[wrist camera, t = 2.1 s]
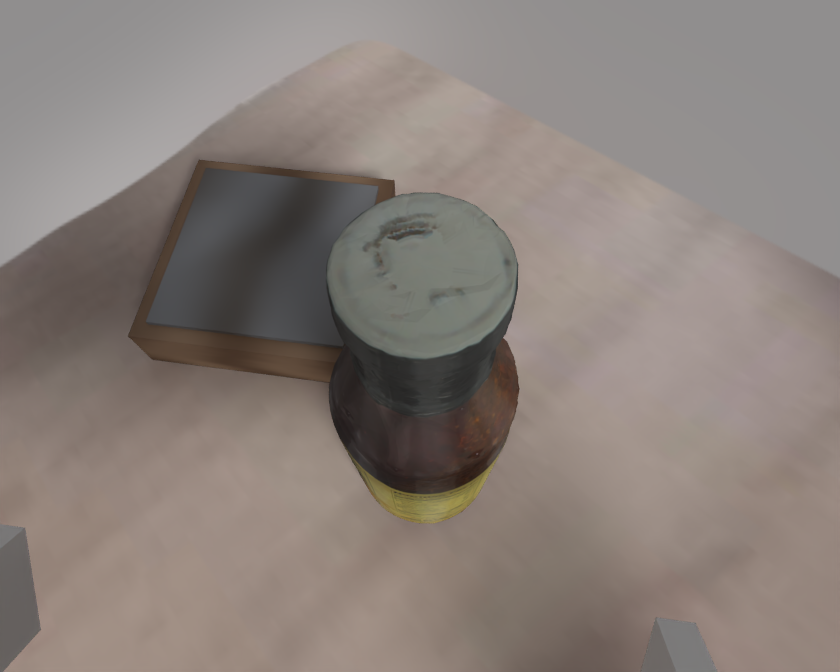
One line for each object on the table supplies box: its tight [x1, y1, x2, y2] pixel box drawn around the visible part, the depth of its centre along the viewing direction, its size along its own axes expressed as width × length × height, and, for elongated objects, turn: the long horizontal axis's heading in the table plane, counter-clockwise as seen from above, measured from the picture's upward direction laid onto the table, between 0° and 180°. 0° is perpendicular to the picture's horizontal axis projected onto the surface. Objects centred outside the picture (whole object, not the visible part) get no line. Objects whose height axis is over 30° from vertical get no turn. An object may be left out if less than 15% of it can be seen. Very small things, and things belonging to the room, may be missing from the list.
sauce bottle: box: [326, 193, 519, 523], centre depth 21 cm, size 6×6×20 cm
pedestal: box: [128, 160, 395, 383], centre depth 33 cm, size 12×12×3 cm
